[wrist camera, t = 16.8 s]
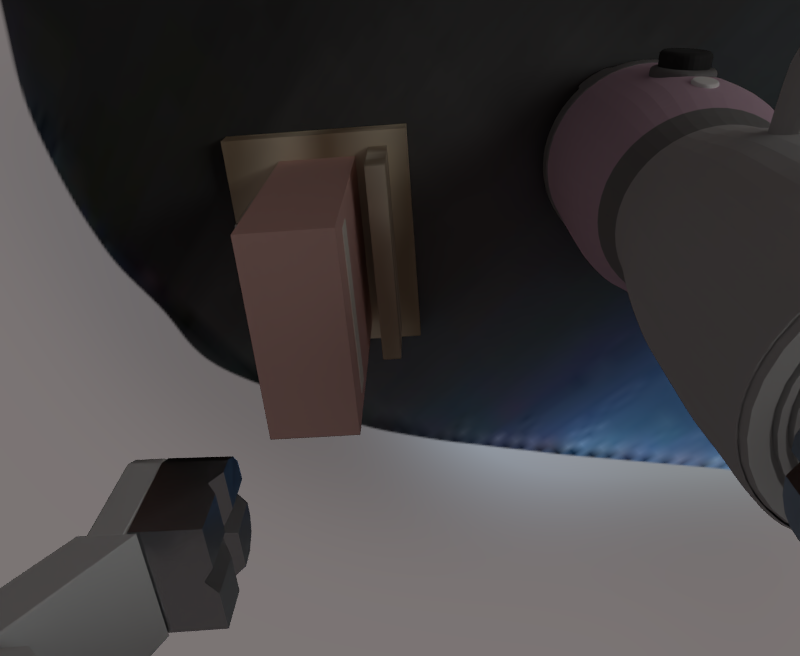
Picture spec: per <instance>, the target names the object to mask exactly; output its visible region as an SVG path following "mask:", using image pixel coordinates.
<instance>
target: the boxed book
mask: <svg viewBox="0 0 800 656" xmlns="http://www.w3.org/2000/svg"><path fill="white" fill-rule="evenodd" d="M231 240H232V245H233V250H234V255H235V260H236V265H237V270H238V275H239V281H240V286H241V291H242V296H243V301H244V306H245V311H246V316H247V322H248V327H249V332H250V337H251V342H252V347H253V352H254V357H255V362H256V368H257V373H258V378H259V383H260V388H261V393H262V398H263V403H264V409H265V414H266V418H267V424H268V429H269V434H270V439H271V440H272V439H290V438H307V437H308V438H309V437H327V436H345V435H360V431H361V423H362V413H363V404H364V395H365V385H366V376H367V367H368V357H369V348H370V339H371V329H372V312H371V302H370V293H369V283H368V274H367V264H366V254H365V245H364V235H363V226H362V216H361V207H360V197H359V188H358V178H357V169H356V159H355V156H348V157H334V158H321V159H307V160H293V161H279V162H278V164H277V165H276V167H275V168H274V170H273V171H272V173H271V174H270V176H269V177H268V179H267V180H266V182H265V183H264V185H263V187H262V188H261V190H260V191H259V193H258V194H257V196H256V197H255V199H254V200H253V202H252V203H251V205H250V206H249V208H248V209H247V211H246V212H245V214H244V215H243V217H242V218H241V220H240V221H239V223H238V224H237V226H236V227H235V229H234V230H233V232H232V233H231Z"/></svg>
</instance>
